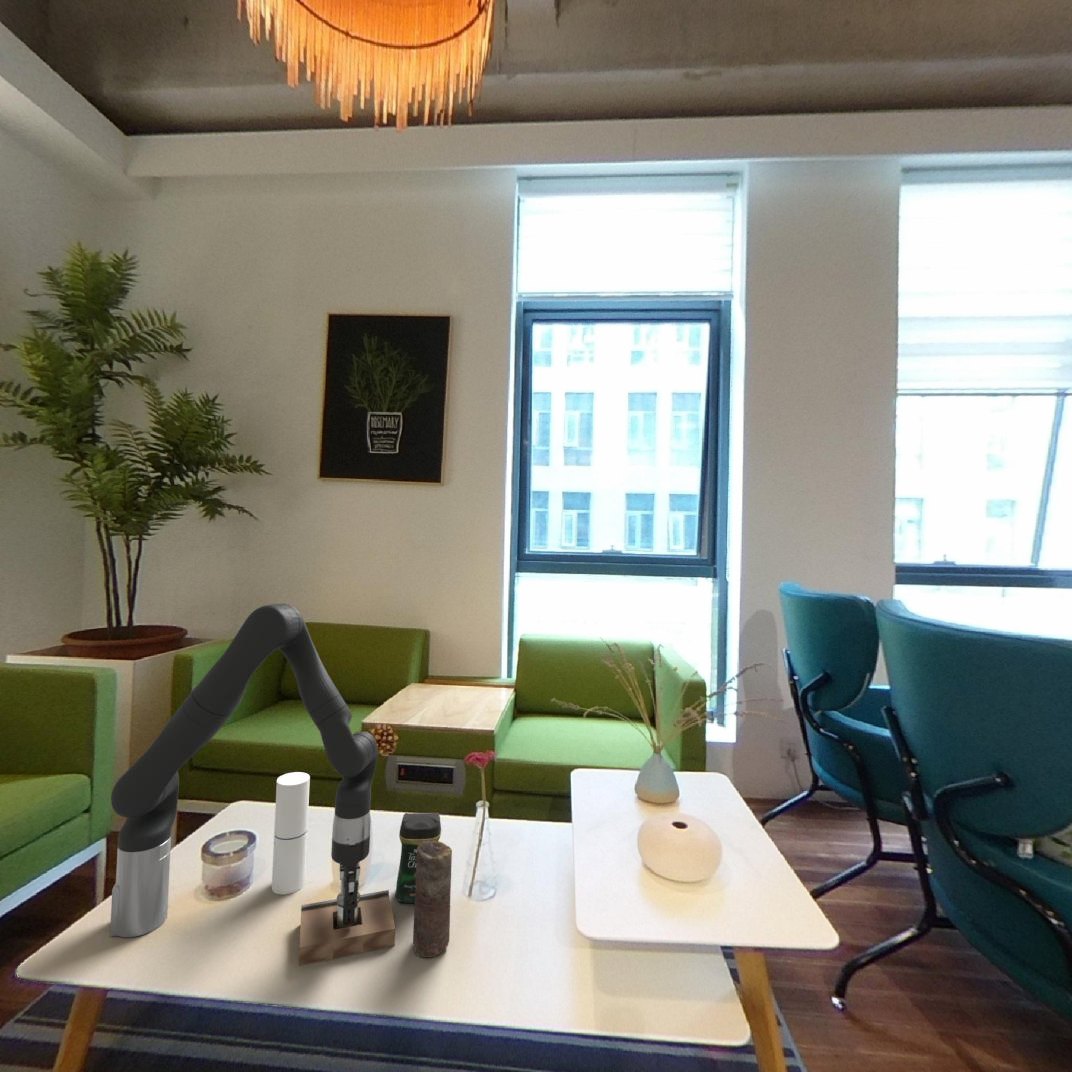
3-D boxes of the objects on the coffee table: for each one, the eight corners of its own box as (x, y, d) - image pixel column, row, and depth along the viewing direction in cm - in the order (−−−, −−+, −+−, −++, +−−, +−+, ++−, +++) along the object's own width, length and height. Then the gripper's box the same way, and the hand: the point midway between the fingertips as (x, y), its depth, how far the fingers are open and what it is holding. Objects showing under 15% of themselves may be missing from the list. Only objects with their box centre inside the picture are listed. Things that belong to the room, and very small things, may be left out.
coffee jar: (394, 906, 128) (398, 824, 127) (397, 884, 135) (401, 807, 135) (438, 904, 129) (442, 822, 129) (438, 883, 137) (442, 806, 137)
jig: (298, 965, 109) (299, 944, 109) (300, 924, 120) (301, 905, 120) (394, 945, 116) (395, 925, 116) (387, 908, 127) (388, 889, 127)
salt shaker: (335, 945, 115) (337, 905, 115) (334, 930, 119) (336, 891, 119) (358, 940, 117) (360, 901, 117) (357, 925, 121) (359, 888, 121)
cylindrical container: (281, 898, 128) (287, 788, 128) (265, 885, 133) (270, 778, 133) (310, 884, 134) (315, 778, 134) (294, 872, 138) (299, 769, 138)
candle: (409, 936, 119) (414, 840, 119) (444, 929, 121) (449, 835, 121) (415, 962, 112) (420, 860, 111) (452, 954, 114) (457, 855, 114)
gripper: (331, 818, 123) (327, 895, 123) (333, 854, 110) (328, 941, 110) (367, 813, 126) (363, 889, 126) (373, 848, 113) (369, 933, 113)
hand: (347, 913), depth 118 cm, fingers open, 5 cm apart
